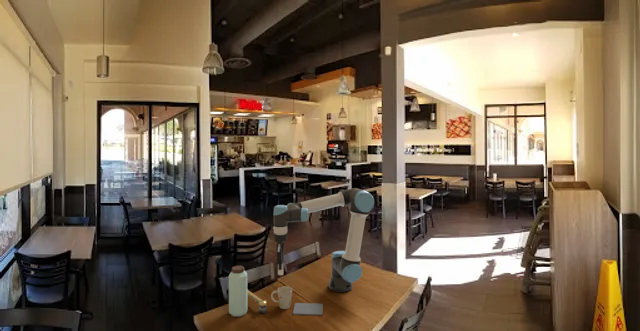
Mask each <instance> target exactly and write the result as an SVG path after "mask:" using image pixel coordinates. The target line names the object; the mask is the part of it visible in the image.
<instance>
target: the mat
mask: <svg viewBox="0 0 640 331" xmlns="http://www.w3.org/2000/svg"><path fill="white" fill-rule="evenodd" d="M323 310H324V303H315V302H314V303H311V302H310V303H309V302H304V303H303V302H295V303H294V306H293V311H292V315H295V316H297V315H298V316H299V315H300V316H323V314H324V313H323Z"/></svg>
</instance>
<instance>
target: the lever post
mask: <svg viewBox="0 0 640 331" xmlns="http://www.w3.org/2000/svg"><path fill="white" fill-rule="evenodd" d="M258 313H259V314H261V315H263V314H267V313H268V306H266V307H263V308H262V307H259V306H258Z"/></svg>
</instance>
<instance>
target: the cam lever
mask: <svg viewBox="0 0 640 331" xmlns="http://www.w3.org/2000/svg"><path fill="white" fill-rule="evenodd" d="M247 297H249V298H250V299H251V300H253V302H255V303H257V304H258V308H259V307H262V308H263V307H266V306H267V304H268V302H267V300H266V299H265V300H263V299H262V298H260V297H259V296H257V295H256V294H255V293H253V291H252V292H251V291H250V290H249V289H247ZM267 307H268V306H267Z"/></svg>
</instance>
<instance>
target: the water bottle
mask: <svg viewBox="0 0 640 331" xmlns="http://www.w3.org/2000/svg"><path fill="white" fill-rule="evenodd" d="M247 290H248V272H247V271H246V270H245V266H243V265H235V266H232V267H231V272H230V273H229V275H228V313H229V314H231V315H230V316H232V317H235V318H236V317H242V316H245V315H246V314H247V312H248V296H247Z"/></svg>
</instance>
